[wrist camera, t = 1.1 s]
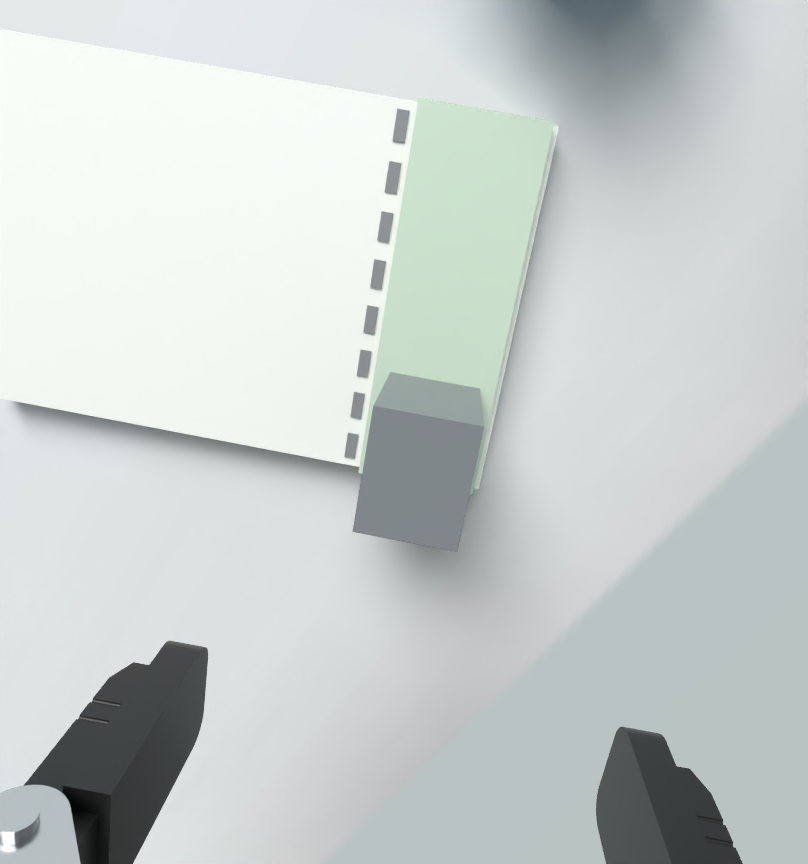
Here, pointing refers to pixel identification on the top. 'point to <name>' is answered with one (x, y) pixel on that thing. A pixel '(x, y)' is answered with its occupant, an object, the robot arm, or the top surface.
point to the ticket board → (199, 245)
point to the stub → (447, 317)
